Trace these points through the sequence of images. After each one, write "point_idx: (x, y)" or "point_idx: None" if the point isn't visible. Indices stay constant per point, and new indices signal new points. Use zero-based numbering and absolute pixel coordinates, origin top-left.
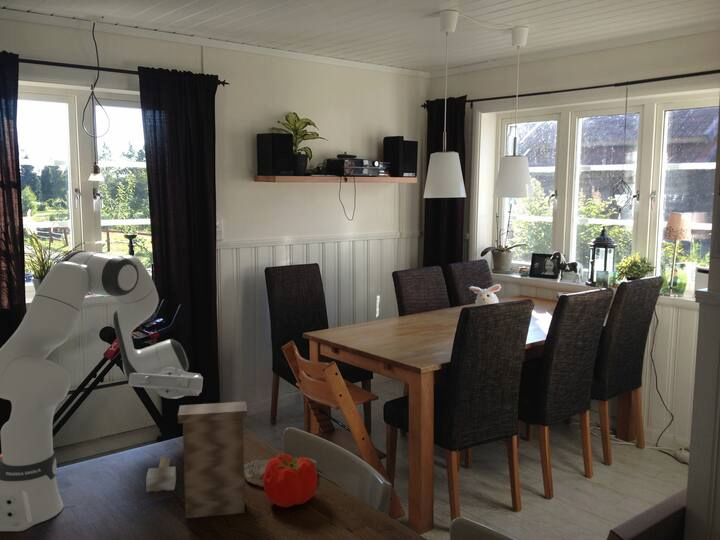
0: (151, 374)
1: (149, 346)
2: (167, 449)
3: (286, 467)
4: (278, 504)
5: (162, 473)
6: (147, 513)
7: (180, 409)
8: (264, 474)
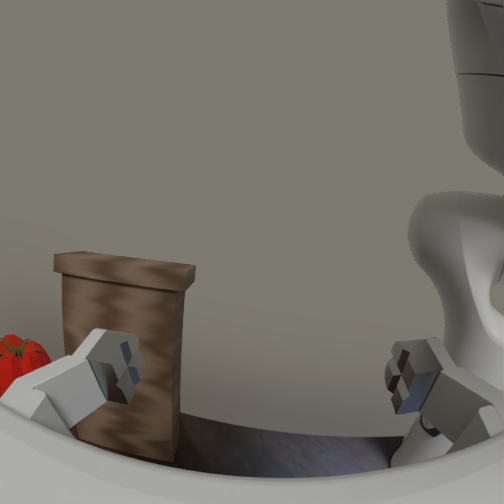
0: (470, 447)
1: None
2: None
3: (34, 343)
4: None
5: None
6: (242, 462)
7: (187, 268)
8: None
